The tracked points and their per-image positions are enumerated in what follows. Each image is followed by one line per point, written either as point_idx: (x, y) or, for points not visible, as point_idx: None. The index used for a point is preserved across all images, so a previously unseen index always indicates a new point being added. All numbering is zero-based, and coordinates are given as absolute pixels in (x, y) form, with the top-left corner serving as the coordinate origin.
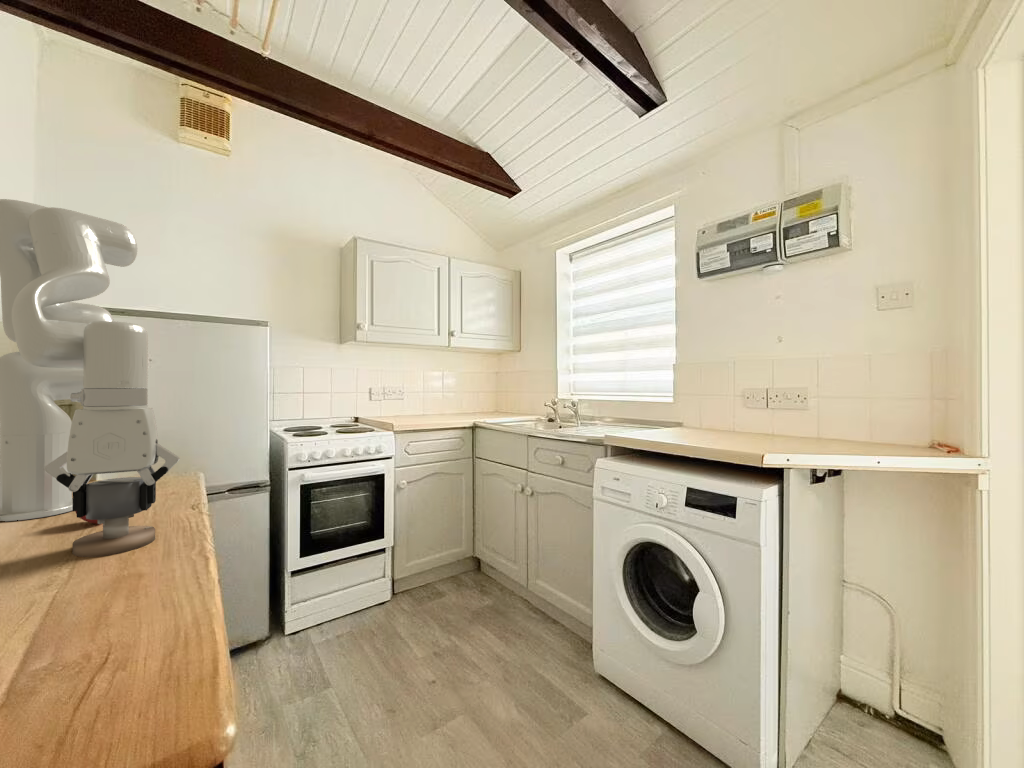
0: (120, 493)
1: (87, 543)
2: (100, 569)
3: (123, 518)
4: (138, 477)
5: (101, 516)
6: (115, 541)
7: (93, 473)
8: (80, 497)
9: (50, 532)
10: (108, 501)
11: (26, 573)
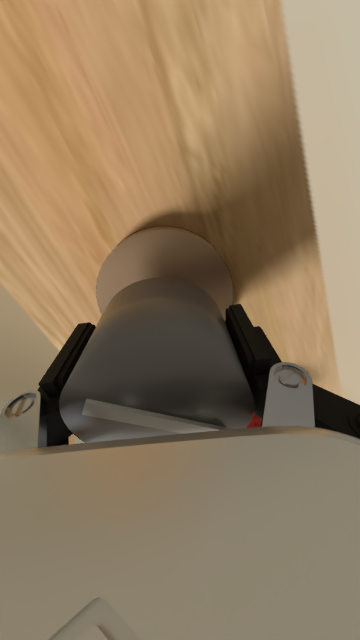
0: (104, 333)
1: (200, 266)
2: (106, 99)
3: None
4: None
5: (168, 280)
6: (144, 258)
7: (224, 432)
8: (249, 341)
9: None
10: (144, 305)
11: (272, 152)
